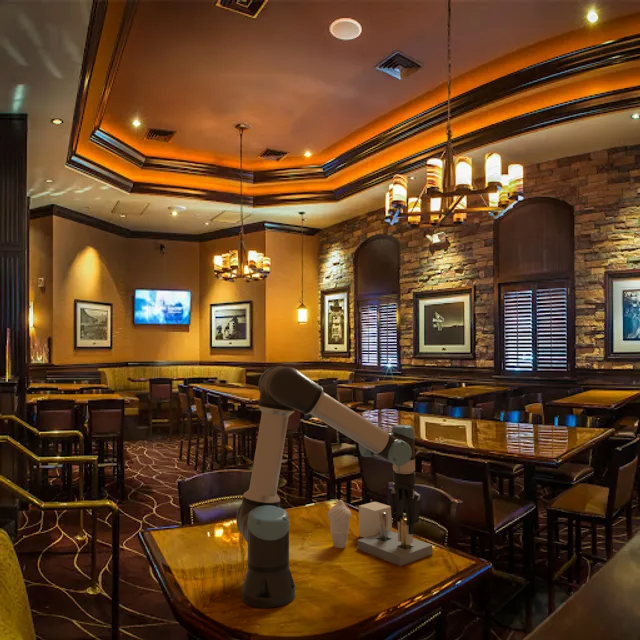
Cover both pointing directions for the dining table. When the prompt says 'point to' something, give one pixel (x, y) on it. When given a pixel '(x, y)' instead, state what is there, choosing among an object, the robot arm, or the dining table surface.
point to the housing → (372, 518)
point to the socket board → (394, 549)
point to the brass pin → (404, 534)
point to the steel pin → (383, 526)
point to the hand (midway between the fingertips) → (405, 541)
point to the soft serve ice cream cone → (339, 524)
